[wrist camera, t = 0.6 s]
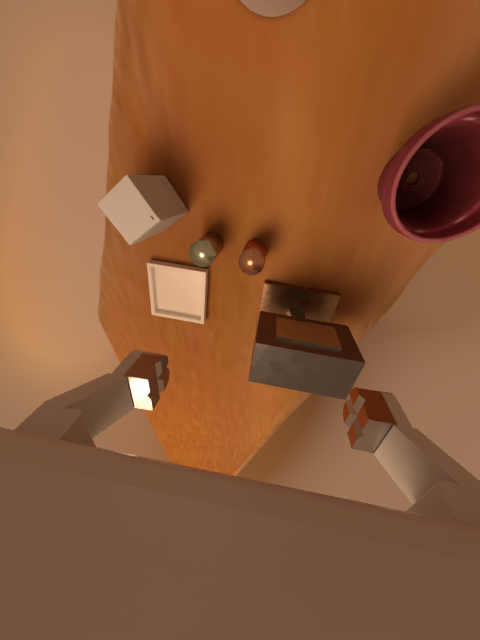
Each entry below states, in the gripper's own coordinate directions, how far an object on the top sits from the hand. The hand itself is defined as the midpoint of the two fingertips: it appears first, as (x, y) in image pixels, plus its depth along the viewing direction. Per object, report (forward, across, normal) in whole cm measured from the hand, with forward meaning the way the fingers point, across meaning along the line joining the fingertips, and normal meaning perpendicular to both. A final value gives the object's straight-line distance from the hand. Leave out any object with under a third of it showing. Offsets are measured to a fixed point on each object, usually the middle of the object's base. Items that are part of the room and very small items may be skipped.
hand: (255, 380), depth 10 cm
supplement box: (+40, +22, -2) cm, 46 cm away
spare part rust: (+40, +3, +4) cm, 41 cm away
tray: (+40, +19, +16) cm, 48 cm away
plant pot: (+40, -20, -10) cm, 46 cm away
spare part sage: (+40, +12, +4) cm, 42 cm away
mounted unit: (+40, -8, +17) cm, 44 cm away
